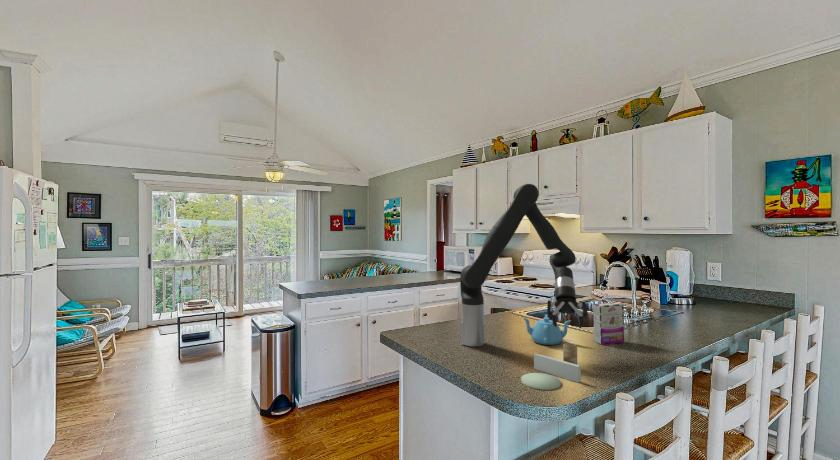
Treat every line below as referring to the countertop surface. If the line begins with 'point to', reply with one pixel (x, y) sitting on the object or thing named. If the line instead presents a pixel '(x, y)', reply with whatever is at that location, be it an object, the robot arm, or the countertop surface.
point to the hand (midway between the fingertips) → (568, 326)
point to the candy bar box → (608, 323)
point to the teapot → (546, 331)
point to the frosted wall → (557, 367)
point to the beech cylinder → (570, 353)
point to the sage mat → (541, 381)
